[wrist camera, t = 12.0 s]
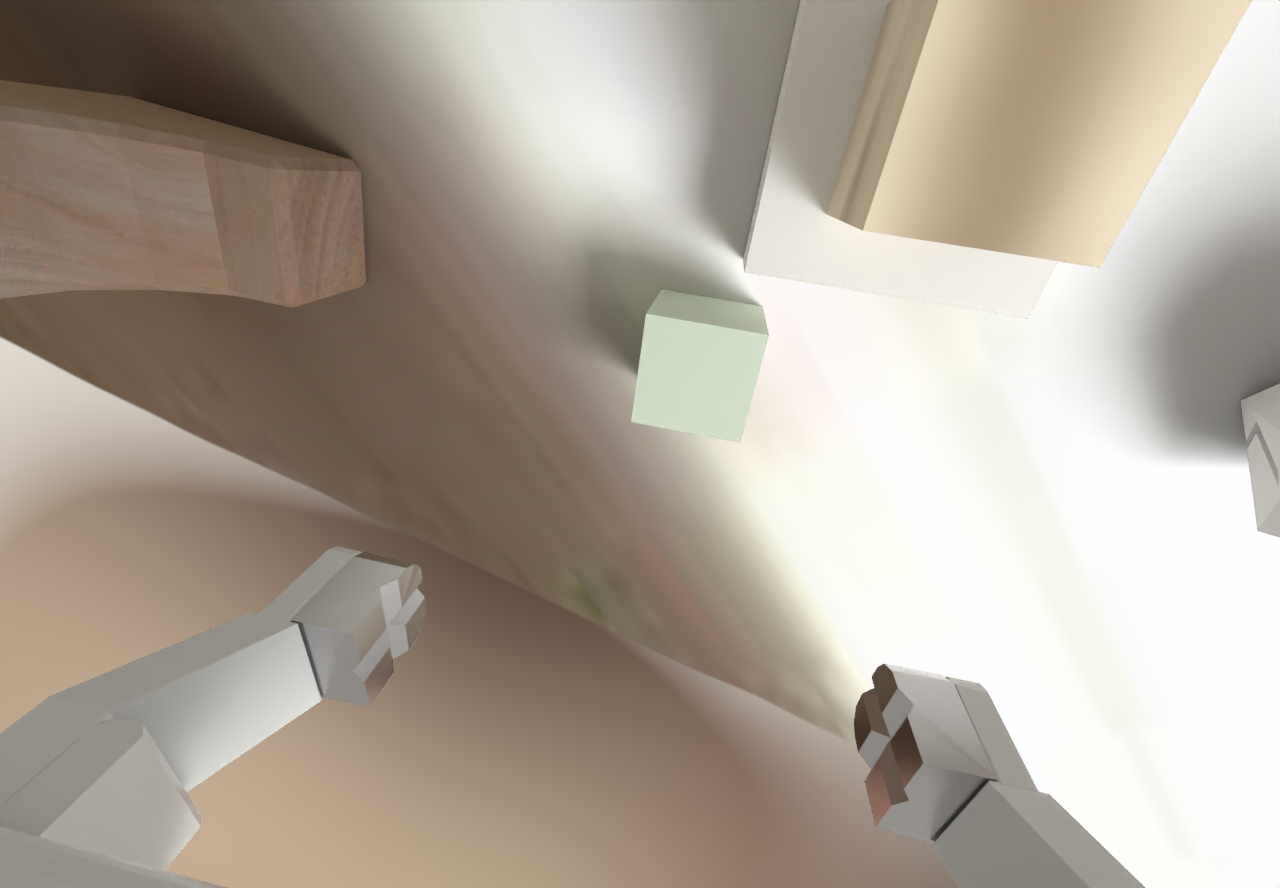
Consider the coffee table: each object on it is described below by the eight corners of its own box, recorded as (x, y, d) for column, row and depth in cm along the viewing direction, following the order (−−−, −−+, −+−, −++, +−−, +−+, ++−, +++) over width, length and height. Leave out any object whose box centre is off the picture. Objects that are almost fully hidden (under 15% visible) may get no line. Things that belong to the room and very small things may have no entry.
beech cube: (1089, 28, 14) (1279, -49, 9) (993, 240, 16) (1099, 267, 12) (887, 4, 14) (965, -82, 9) (826, 214, 17) (862, 230, 12)
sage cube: (762, 305, 22) (768, 335, 18) (738, 398, 24) (739, 442, 20) (661, 288, 22) (646, 313, 18) (647, 381, 24) (631, 421, 20)
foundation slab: (1147, -32, 15) (1234, -75, 12) (989, 299, 20) (1028, 318, 17) (815, -68, 16) (831, -115, 13) (743, 259, 21) (744, 272, 18)
